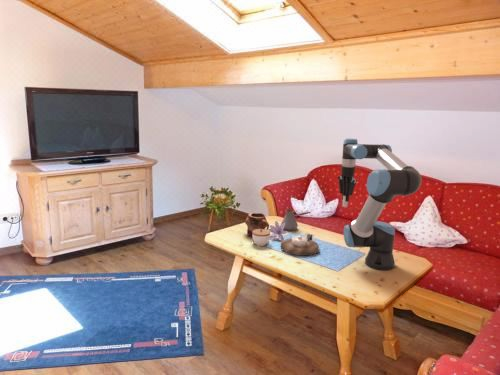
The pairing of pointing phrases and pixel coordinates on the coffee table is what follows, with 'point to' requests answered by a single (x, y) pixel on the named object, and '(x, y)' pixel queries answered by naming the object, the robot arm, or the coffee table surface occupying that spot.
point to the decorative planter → (256, 222)
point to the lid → (299, 241)
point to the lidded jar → (260, 236)
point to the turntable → (307, 250)
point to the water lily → (277, 231)
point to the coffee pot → (291, 220)
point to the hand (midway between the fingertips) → (344, 206)
